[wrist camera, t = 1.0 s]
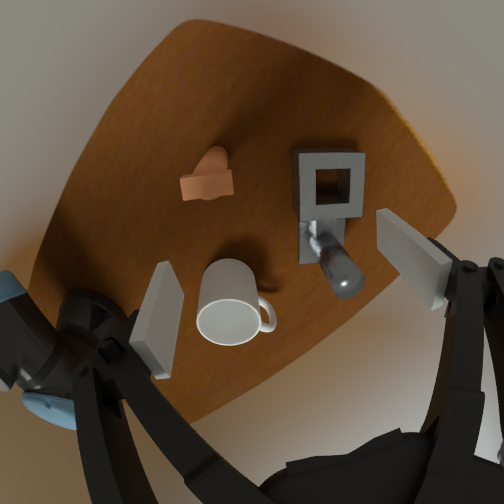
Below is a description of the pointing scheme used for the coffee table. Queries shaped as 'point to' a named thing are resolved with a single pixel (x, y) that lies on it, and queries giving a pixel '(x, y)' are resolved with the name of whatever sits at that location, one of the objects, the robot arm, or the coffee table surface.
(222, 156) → the wedge pin
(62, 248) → the coffee table surface
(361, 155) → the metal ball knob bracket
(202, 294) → the cup
